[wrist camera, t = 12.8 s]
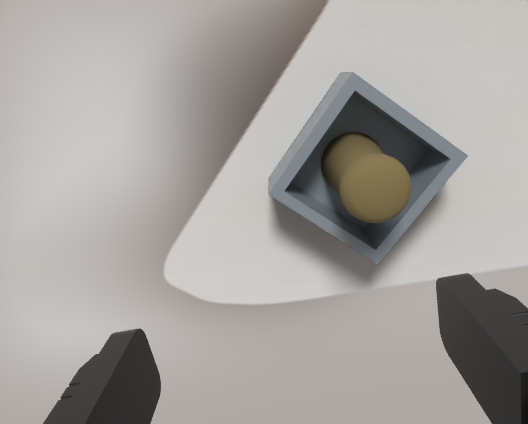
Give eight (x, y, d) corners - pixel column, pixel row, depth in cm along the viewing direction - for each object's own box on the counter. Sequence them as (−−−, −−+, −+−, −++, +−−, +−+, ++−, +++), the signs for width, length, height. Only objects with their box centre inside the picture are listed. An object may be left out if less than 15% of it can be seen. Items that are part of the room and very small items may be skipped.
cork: (395, 164, 39) (441, 196, 28) (347, 205, 40) (374, 250, 30) (355, 118, 37) (387, 133, 27) (307, 162, 39) (320, 193, 28)
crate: (340, 72, 37) (352, 71, 31) (439, 144, 39) (468, 155, 33) (268, 178, 40) (268, 194, 35) (363, 239, 42) (377, 264, 37)
